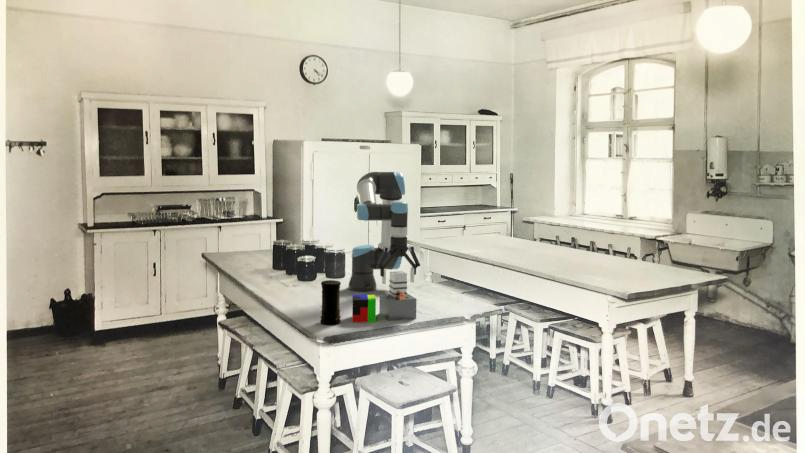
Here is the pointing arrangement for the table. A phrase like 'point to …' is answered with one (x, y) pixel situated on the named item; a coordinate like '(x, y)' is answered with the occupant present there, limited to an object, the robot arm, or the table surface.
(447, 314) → the table surface
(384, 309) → the housing
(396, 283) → the column
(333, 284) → the container
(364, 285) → the robot arm
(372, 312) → the puzzle toy
